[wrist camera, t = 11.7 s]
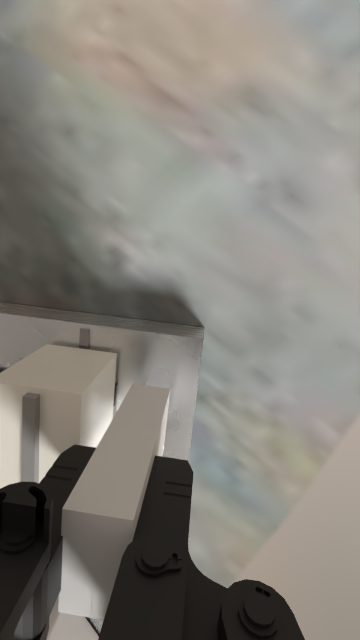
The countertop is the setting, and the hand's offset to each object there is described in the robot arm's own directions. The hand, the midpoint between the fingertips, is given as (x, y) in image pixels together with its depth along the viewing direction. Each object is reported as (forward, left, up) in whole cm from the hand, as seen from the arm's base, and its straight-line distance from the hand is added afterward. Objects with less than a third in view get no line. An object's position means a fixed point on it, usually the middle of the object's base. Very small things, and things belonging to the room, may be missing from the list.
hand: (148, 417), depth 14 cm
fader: (-3, 0, -1) cm, 3 cm away
